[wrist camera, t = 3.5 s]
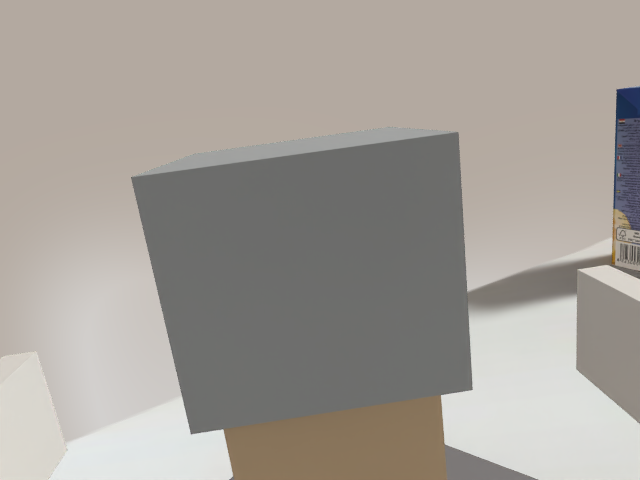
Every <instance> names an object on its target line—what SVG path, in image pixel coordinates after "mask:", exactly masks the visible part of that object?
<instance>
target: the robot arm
mask: <svg viewBox="0 0 640 480" xmlns="http://www.w3.org/2000/svg"><path fill="white" fill-rule="evenodd" d="M576 369H577V370H578V371H579V372H580V373H581V374H582V375H584V376H585V377H586V378H587V379H588V380H589V381H591V382H592V383H593V384H594V385H595V386H596V387H598V388H599V389H600V390H601V391H602V392H603V393H605V394H606V395H607V396H608V397H609V398H610V399H612V400H613V401H614V402H615V403H616V404H617V405H619V406H620V407H621V408H622V409H623V410H624V411H626V412H627V413H628V414H629V415H630V416H631V417H633V418H634V419H635V420H636V421H637V422H638V423H640V279H638V278H636V277H633V276H631V275H629V274H627V273H624V272H622V271H620V270H618V269H616V268H613V267H611V266H609V265H603V266H597V267H590V268H583V269H577V363H576ZM66 452H67V447H66V443H65V440H64V437H63V434H62V431H61V428H60V424H59V421H58V418H57V415H56V412H55V408H54V405H53V402H52V399H51V396H50V393H49V389H48V386H47V383H46V380H45V377H44V374H43V370H42V367H41V364H40V361H39V358H38V354H37V351H34V352H28V353H20V354H14V355H7V356H3V357H2V358H1V359H0V480H48V479H49V478H50V476H51V475H52V473H53V472H54V470H55V469H56V467H57V466H58V464H59V463H60V461H61V459H62V458H63V456H64V455H65V453H66Z"/></svg>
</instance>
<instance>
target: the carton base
mask: <svg viewBox="0 0 640 480" xmlns="http://www.w3.org/2000/svg"><path fill="white" fill-rule="evenodd" d="M224 434H225V439H226V443H227V448H228V453H229V457H230V462H231V467H232V472H233V476H234V480H447V472H446V458H445V445H444V431H443V418H442V404H441V395H437V396H431V397H425V398H418V399H412V400H405V401H399V402H393V403H386V404H380V405H374V406H367V407H361V408H354V409H348V410H342V411H335V412H329V413H323V414H316V415H310V416H303V417H297V418H291V419H284V420H278V421H272V422H265V423H259V424H252V425H246V426H240V427H233V428H227V429H224Z"/></svg>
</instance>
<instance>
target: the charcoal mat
mask: <svg viewBox="0 0 640 480" xmlns="http://www.w3.org/2000/svg"><path fill="white" fill-rule="evenodd" d="M445 458H446V472H447V480H538V479H535V478H532V477H530V476H527V475H524V474H522V473H519V472H516V471H514V470H511V469H508V468H506V467H503V466H500V465H498V464H495V463H492V462H490V461H487V460H484V459H482V458H479V457H476V456H474V455H471V454H468V453H466V452H463V451H460V450H458V449H455V448H452V447H450V446H447V445H445ZM230 480H234V476H233V477H232V478H231V479H230Z"/></svg>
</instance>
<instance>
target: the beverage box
mask: <svg viewBox="0 0 640 480" xmlns="http://www.w3.org/2000/svg"><path fill="white" fill-rule="evenodd" d="M614 174H615V175H614V208H613V209H614V211H613V243H612V265H615V266H619V267H624V268H628V269H632V270H637V271H640V86H636V87H630V88H624V89H617V99H616V136H615V172H614Z"/></svg>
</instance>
